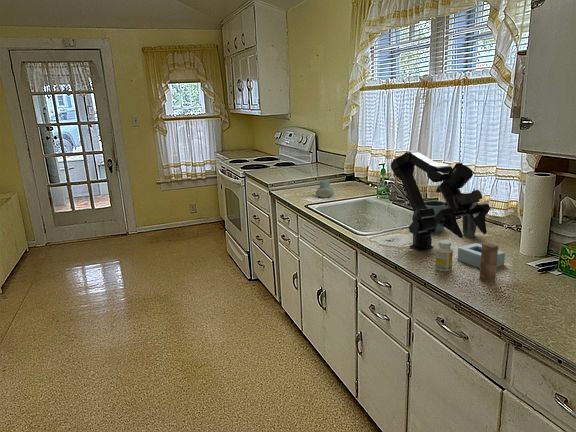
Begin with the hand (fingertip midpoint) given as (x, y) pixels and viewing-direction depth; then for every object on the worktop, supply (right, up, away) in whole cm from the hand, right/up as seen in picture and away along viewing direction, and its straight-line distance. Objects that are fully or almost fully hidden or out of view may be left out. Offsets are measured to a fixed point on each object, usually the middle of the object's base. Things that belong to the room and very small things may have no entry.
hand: (473, 235), depth 138 cm
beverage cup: (+15, -2, +40) cm, 43 cm away
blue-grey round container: (+4, 0, +51) cm, 51 cm away
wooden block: (+3, -14, -3) cm, 15 cm away
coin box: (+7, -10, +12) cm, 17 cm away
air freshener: (-38, +18, +124) cm, 131 cm away
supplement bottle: (-7, -12, +8) cm, 16 cm away
